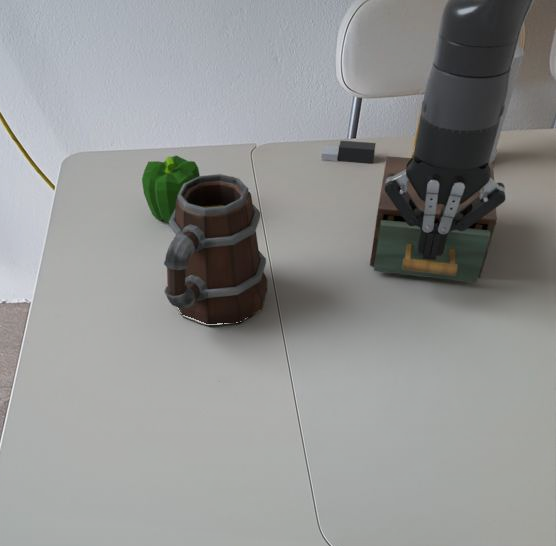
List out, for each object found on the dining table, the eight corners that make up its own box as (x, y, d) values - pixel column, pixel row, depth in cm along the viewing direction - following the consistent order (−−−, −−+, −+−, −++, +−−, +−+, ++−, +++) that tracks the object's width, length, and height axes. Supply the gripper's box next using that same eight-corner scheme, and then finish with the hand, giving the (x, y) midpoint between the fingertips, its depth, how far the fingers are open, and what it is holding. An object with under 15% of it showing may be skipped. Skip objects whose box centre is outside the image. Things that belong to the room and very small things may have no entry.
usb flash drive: (374, 156, 106) (375, 142, 104) (372, 164, 104) (374, 150, 102) (323, 152, 108) (324, 138, 106) (321, 160, 106) (322, 146, 104)
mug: (203, 259, 88) (195, 157, 77) (283, 285, 83) (286, 179, 72) (135, 327, 78) (116, 221, 68) (220, 361, 73) (214, 252, 63)
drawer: (477, 305, 76) (491, 258, 72) (370, 292, 79) (377, 246, 74) (475, 227, 88) (487, 182, 83) (381, 218, 91) (388, 174, 86)
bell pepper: (153, 200, 100) (145, 138, 93) (205, 201, 98) (201, 139, 91) (140, 230, 94) (131, 167, 87) (196, 232, 92) (191, 168, 86)
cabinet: (479, 278, 81) (497, 219, 75) (369, 265, 85) (377, 208, 79) (477, 220, 91) (493, 163, 85) (378, 210, 94) (386, 155, 88)
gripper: (530, 99, 65) (487, 244, 77) (395, 91, 68) (374, 231, 80) (536, 132, 60) (489, 281, 72) (389, 122, 63) (368, 267, 75)
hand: (428, 255), depth 76 cm, fingers closed
